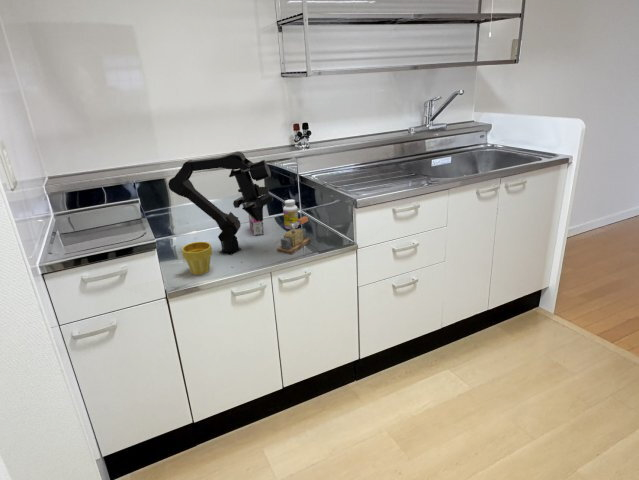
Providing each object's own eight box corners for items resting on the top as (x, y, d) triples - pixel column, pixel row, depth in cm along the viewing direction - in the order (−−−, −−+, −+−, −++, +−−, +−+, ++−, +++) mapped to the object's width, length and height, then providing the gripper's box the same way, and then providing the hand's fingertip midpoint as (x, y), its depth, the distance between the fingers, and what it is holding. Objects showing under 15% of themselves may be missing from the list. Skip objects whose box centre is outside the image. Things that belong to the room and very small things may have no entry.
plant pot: (218, 272, 151) (214, 247, 147) (190, 279, 146) (185, 254, 143) (210, 262, 159) (206, 239, 156) (183, 269, 155) (178, 245, 151)
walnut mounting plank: (291, 254, 163) (291, 251, 162) (277, 251, 166) (276, 248, 166) (310, 241, 175) (310, 238, 174) (297, 238, 178) (296, 235, 177)
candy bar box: (264, 234, 185) (260, 199, 179) (253, 236, 184) (249, 201, 177) (260, 226, 195) (256, 193, 189) (249, 228, 194) (245, 194, 187)
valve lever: (293, 229, 166) (293, 224, 165) (288, 228, 167) (288, 224, 166) (308, 220, 174) (308, 216, 174) (303, 219, 176) (303, 215, 175)
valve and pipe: (289, 250, 163) (288, 234, 161) (279, 248, 165) (278, 232, 163) (307, 238, 174) (306, 223, 172) (298, 236, 177) (297, 221, 174)
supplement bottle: (281, 228, 191) (279, 202, 186) (289, 224, 196) (287, 198, 192) (294, 230, 188) (292, 203, 183) (301, 225, 194) (299, 199, 189)
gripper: (276, 175, 157) (289, 212, 162) (246, 178, 170) (260, 213, 175) (255, 185, 150) (269, 224, 155) (226, 188, 163) (240, 224, 168)
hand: (260, 221), depth 163 cm, fingers closed
